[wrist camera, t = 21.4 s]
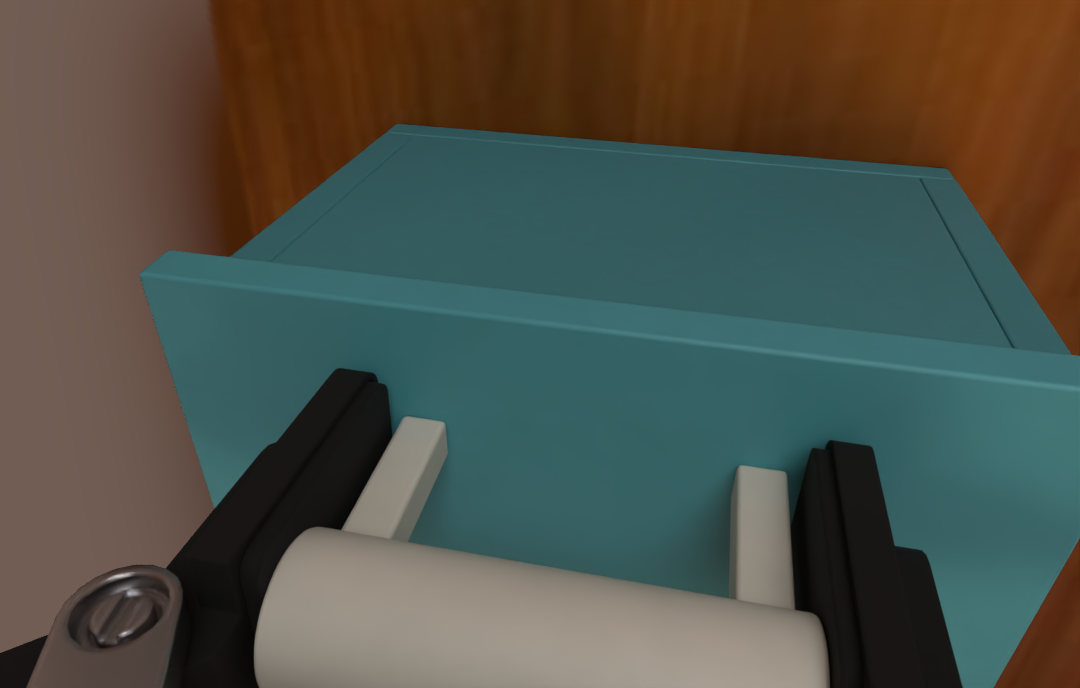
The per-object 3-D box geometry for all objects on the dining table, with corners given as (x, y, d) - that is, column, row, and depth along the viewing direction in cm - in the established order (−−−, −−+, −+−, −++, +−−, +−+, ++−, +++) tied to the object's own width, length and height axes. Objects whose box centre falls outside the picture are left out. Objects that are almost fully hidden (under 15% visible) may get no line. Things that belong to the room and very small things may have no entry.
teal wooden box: (395, 122, 21) (208, 270, 13) (948, 167, 18) (1088, 376, 11) (431, 565, 30) (330, 800, 22) (809, 633, 27) (834, 920, 20)
